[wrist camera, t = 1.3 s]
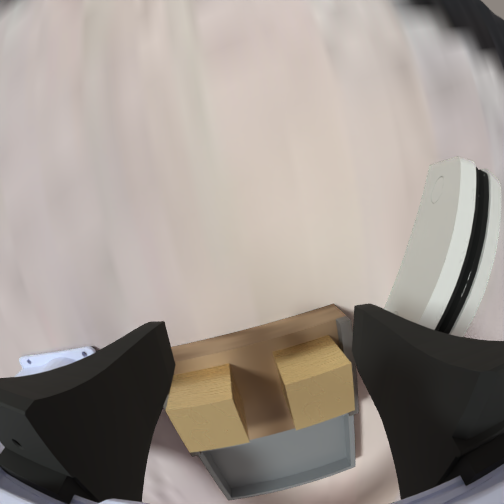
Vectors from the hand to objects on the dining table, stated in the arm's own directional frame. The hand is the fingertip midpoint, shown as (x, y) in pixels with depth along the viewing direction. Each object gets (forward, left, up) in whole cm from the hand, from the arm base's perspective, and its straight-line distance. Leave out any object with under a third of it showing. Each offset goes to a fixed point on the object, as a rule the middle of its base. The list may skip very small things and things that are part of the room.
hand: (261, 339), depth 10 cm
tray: (-1, -19, -10) cm, 21 cm away
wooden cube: (-4, -7, -8) cm, 11 cm away
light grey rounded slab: (+14, -3, -10) cm, 18 cm away
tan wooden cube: (+3, -7, -8) cm, 11 cm away
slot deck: (-1, -9, -10) cm, 13 cm away
